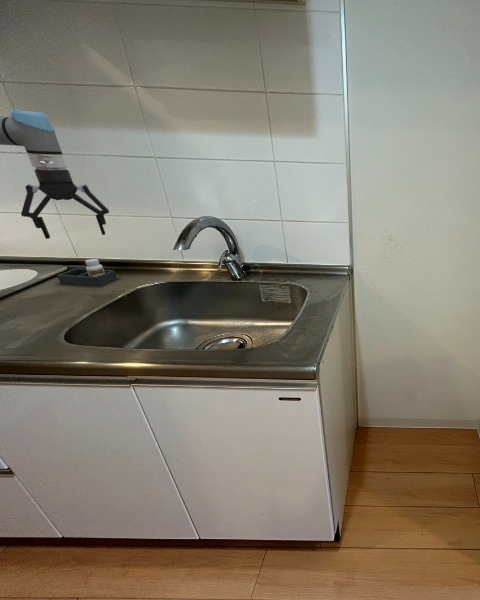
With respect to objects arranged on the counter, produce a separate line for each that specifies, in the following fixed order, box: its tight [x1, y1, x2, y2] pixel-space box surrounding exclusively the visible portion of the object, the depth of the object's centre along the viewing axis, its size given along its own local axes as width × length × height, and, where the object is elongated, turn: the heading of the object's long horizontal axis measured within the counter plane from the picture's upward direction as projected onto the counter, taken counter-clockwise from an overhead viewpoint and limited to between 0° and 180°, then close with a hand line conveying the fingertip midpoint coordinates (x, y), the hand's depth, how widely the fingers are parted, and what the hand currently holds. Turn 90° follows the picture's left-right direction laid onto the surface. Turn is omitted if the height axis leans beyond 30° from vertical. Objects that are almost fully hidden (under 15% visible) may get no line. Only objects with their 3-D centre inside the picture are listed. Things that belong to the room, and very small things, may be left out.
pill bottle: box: [84, 258, 105, 277], centre depth 111 cm, size 4×4×8 cm
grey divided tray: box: [56, 267, 118, 288], centre depth 112 cm, size 7×14×4 cm, turn 90°
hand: (77, 235), depth 105 cm, fingers open, 13 cm apart
